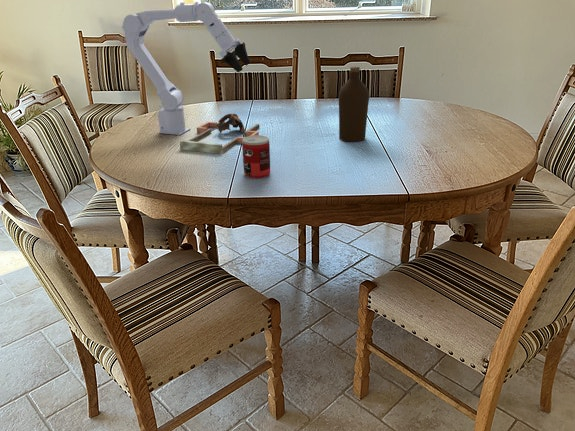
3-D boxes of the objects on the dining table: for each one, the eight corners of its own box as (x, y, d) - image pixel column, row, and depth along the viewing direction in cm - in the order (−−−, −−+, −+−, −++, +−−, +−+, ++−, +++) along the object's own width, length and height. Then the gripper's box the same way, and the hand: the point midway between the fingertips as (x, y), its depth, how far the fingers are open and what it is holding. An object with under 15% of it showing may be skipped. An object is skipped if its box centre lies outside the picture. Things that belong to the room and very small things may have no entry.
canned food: (243, 170, 149) (241, 135, 144) (269, 169, 149) (268, 134, 144) (244, 179, 142) (241, 143, 137) (271, 178, 142) (269, 142, 138)
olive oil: (345, 144, 170) (348, 71, 159) (332, 136, 179) (334, 66, 168) (372, 140, 173) (376, 68, 162) (358, 132, 182) (361, 63, 171)
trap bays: (187, 138, 180) (187, 132, 179) (208, 126, 193) (207, 121, 193) (248, 144, 172) (248, 138, 171) (266, 131, 185) (265, 126, 185)
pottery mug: (245, 137, 181) (233, 120, 177) (224, 147, 185) (212, 130, 180) (249, 121, 190) (237, 104, 186) (229, 130, 194) (217, 114, 189)
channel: (180, 149, 168) (179, 141, 167) (222, 124, 195) (222, 117, 194) (221, 153, 163) (220, 145, 162) (259, 127, 190) (259, 120, 189)
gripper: (220, 33, 163) (244, 68, 167) (237, 23, 174) (259, 55, 178) (206, 45, 166) (230, 78, 171) (223, 33, 178) (245, 65, 182)
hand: (244, 67), depth 175 cm, fingers open, 7 cm apart
